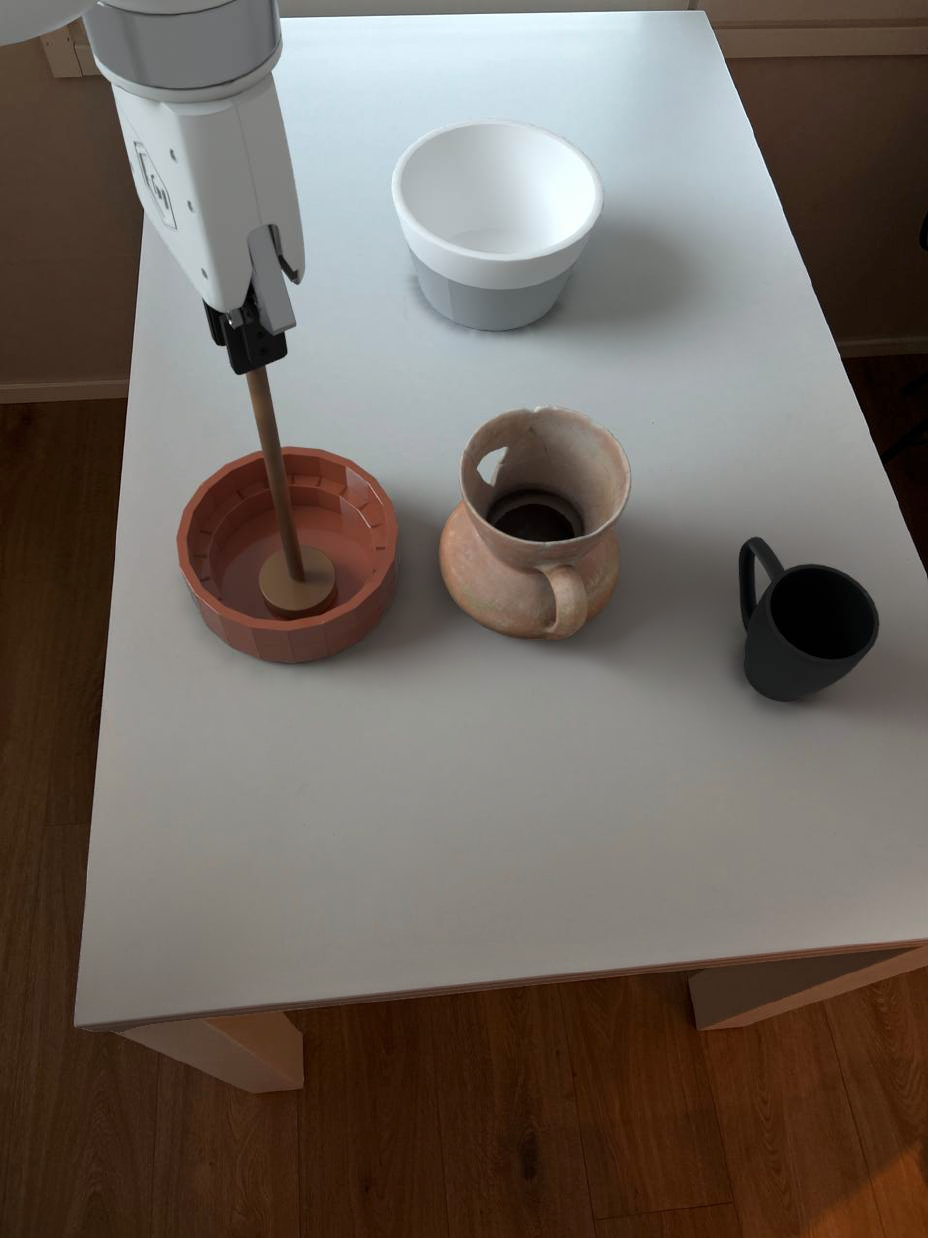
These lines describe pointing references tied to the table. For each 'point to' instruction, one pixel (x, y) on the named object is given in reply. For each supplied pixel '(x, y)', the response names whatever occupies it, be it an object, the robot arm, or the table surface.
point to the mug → (801, 625)
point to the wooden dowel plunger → (287, 526)
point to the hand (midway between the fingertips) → (250, 347)
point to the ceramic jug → (537, 523)
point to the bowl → (495, 218)
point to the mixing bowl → (249, 534)
